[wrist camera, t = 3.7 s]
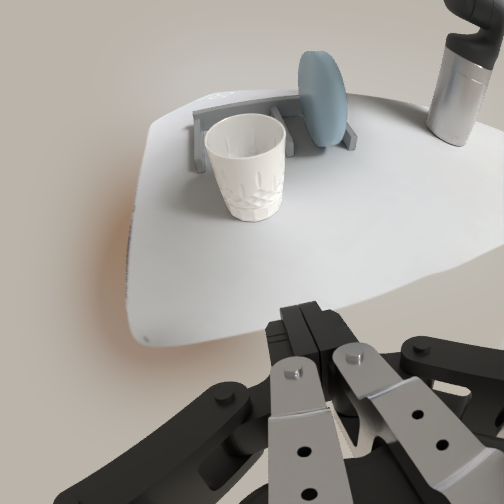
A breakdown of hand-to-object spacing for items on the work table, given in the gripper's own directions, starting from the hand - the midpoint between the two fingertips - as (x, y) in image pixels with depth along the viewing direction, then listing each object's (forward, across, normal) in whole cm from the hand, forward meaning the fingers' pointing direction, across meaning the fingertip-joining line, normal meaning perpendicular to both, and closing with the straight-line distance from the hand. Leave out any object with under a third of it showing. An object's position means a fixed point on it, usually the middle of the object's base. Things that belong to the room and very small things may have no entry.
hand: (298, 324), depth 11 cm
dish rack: (+32, -5, -12) cm, 34 cm away
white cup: (+24, 0, -4) cm, 24 cm away
